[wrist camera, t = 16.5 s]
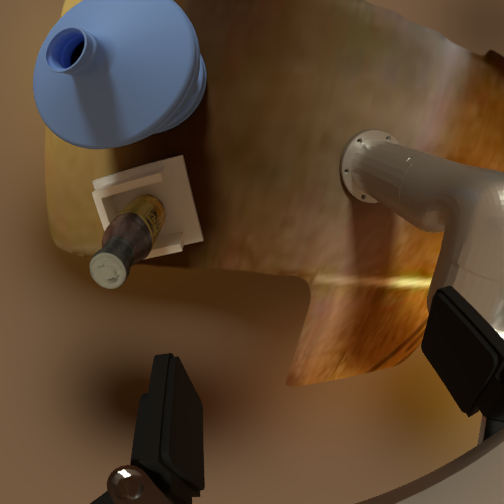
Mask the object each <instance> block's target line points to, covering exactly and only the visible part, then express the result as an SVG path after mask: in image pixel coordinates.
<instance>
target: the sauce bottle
mask: <svg viewBox="0 0 504 504" xmlns="http://www.w3.org/2000/svg"><path fill="white" fill-rule="evenodd" d="M165 216H166V214H165V208H164V206H163V203H162V202H161V201H160V200H159V199H158V198H156V197H154V196H152V195H149V194H147V195H141V196H138V197H136V198H135V199H133V200H132V201H131V202H130V203H129V204H128V205H127V206H126V207H125V208H124V209H123V210H122V211H121V212H120V213H119V214H118V215H117V216H116V217H115V218H114V219H113V220H112V222H111V223H110V224H109V225H108V227H107V228H106V230H105V232H104V235H103V239H102V249H100V250H99V251H98V252H97V253H96V254H95V255H94V256H93V258H92V260H91V262H90V272H91V276H92V277H93V279H94V280H95V281H96V282H97V283H98V284H99V285H100V286H102V287H105V288H109V289H114V288H117V287H119V286H121V285H122V284H123V283H124V282H125V280H126V279H127V277H128V275H129V271H130V267H131V266H132V265H134V264H136V263H138V262H139V261H141V260H143V259H145V258H146V257H147V256H148V255H149V254H150V252H151V250H152V248H153V245H154V243H155V241H156V239H157V237H158V235H159V233H160V231H161V229H162V226H163V224H164V222H165Z"/></svg>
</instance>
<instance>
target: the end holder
mask: <svg viewBox="0 0 504 504" xmlns="http://www.w3.org/2000/svg"><path fill="white" fill-rule="evenodd" d="M92 182H93V185H94V188H95V191H93V192H92V195H93V198H94V201H95V204H96V207H97V210H98V213H99V216H100V219H101V222H102V225H103V228H104V231H105V230H106V228H107V227H108V225H109V224H110V223H111V222H112V220H113V219H114V218H115V217H116V216H117V215H118V214H119V213H120V212H121V211H122V210H123V209H124V208H125V207H126V206H127V205H128V204H129V203H130V202H131V201H132V200H133V199H135V198H136V197H138V196H141V195H147V194H149V195H152V196H154V197H156V198H158V199H159V200H160V201H161V202H162V203H163V206H164V208H165V214H166V216H165V222H164V224H163V226H162V229H161V231H160V233H159V235H158V237H157V239H156V241H155V243H154V245H153V248H152V250H151V252H150V254H149V255H148V256H147V257H146V258H145V259H148V258H153V257H157V256H162V255H167V254H171V253H176V252H181V251H182V250H183V246H184V245H187V244H191V243H196V242H201V241H203V239H204V238H203V234H202V230H201V226H200V222H199V218H198V214H197V210H196V206H195V202H194V198H193V194H192V190H191V186H190V182H189V178H188V174H187V169H186V165H185V161H184V156H183V154H182V155H178V156H174V157H170V158H167V159H163V160H159V161H155V162H152V163H148V164H144V165H141V166H137V167H134V168H130V169H127V170H124V171H121V172H117V173H114V174H111V175H108V176H105V177H102V178H99V179H96V180H94V181H92ZM143 260H144V259H143Z"/></svg>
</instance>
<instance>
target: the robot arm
mask: <svg viewBox="0 0 504 504" xmlns="http://www.w3.org/2000/svg"><path fill="white" fill-rule="evenodd" d="M386 137H387V139H386ZM357 140H358V142H357ZM345 169H346V171H345ZM344 171H345V172H344ZM340 173H341V177H342V181H343V183H344V185H345V187H346V188H347V190H348V191H349V192H350V193H351V194H352V195H353V196H354V197H356V198H357V199H359V200H360V201H363V202H366V203H379V202H380V203H381V204H383V205H384V206H386V207H387V208H389V209H390V210H392V211H393V212H395V213H396V214H398V215H399V216H400V217H402V218H403V219H405V220H406V221H408V222H409V223H411V224H412V225H414V226H415V227H416V228H418V229H420V230H422V231H425V232H430V233H438V232H444V236H443V240H442V244H441V250H440V253H439V257H438V260H437V264H436V267H435V271H434V274H433V277H432V281H431V284H430V287H429V291H428V296H427V308H428V312H429V317H428V321H427V325H426V329H425V333H424V336H423V340H422V344H421V347H422V351H423V353H424V355H425V356H426V358H427V359H428V361H429V362H430V363H431V365H432V366H433V368H434V369H435V371H436V372H437V373H438V375H439V377H440V378H441V380H442V381H443V383H444V384H445V386H446V387H447V389H448V390H449V392H450V394H451V395H452V397H453V398H454V400H455V401H456V403H457V405H458V406H459V408H460V409H461V411H462V412H464V413H466V414H467V415H468V417H470V416H472V415H474V414H475V413H477V412H478V411H479V410H480V411H481V413H482V420H481V427H480V433H479V438H478V444H477V446H476V447H475V448H473V449H471V450H470V451H468V452H466V453H465V454H463V455H462V456H460V457H458V458H457V459H455V460H453V461H451V462H449V463H448V464H446V465H444V466H442V467H440V468H438V469H437V470H435V471H433V472H431V473H429V474H427V475H425V476H423V477H421V478H419V479H417V480H414V481H412V482H410V483H408V484H406V485H403V486H401V487H399V488H396V489H394V490H391V491H389V492H387V493H384V494H382V495H379V496H376V497H373V498H371V499H368V500H365V501H362V502H359V503H356V504H504V172H501V171H497V170H492V169H486V168H480V167H474V166H469V165H465V164H460V163H457V162H453V161H450V160H447V159H444V158H441V157H438V156H434V155H431V154H428V153H425V152H422V151H419V150H415V149H412V148H408V147H405V146H401V145H400V143H399V142H398V141H397V140H396V139H395V138H394V137H393V136H392V135H390V134H388V133H386V132H383V131H380V130H367V131H364V132H361V133H359V134H357V135H356V136H355V137H353V138H352V139H351V140H350V141H349V143H348V144H347V145H346V147H345V149H344V151H343V154H342V157H341V163H340ZM361 196H362V197H361ZM204 487H205V482H204V453H203V406H202V402H201V400H200V398H199V396H198V394H197V392H196V391H195V388H194V386H193V384H192V382H191V381H190V379H189V377H188V375H187V373H186V371H185V369H184V367H183V365H182V363H181V361H180V359H179V357H174V356H173V354H171V353H169V354H161V355H155V357H154V361H153V366H152V372H151V378H150V384H149V390H148V393H143V394H142V395H141V398H140V401H139V407H138V413H137V420H136V426H135V433H134V441H133V448H132V455H131V464H130V465H124V466H120V467H118V468H116V469H115V470H114V471H113V472H111V474H110V476H109V477H108V480H107V491H106V492H105V493H104V494H103V495H102V496H100V497H98V498H97V499H96V500H94V501H93V502H92V503H90V504H192V497H200V490H204Z"/></svg>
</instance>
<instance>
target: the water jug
mask: <svg viewBox="0 0 504 504" xmlns="http://www.w3.org/2000/svg"><path fill="white" fill-rule="evenodd" d="M206 80H207V75H206V68H205V64H204V61H203V58H202V56H201V54H200V50H199V43H198V39H197V36H196V33H195V30H194V28H193V25H192V23H191V22H190V20H189V19H188V17H187V16H186V14H185V13H184V11H183V10H182V9H181V8H180V7H179V6H178V5H177V4H176V3H175V2H174V1H173V0H83V1H81V2H80V3H78V4H77V5H75V6H74V7H73V8H71V9H70V10H69V11H68V12H67V13H66V14H65V15H64V16H63V17H62V18H61V19H60V20H59V21H58V22H57V23H56V24H55V26H54V27H53V28H52V30H51V31H50V32H49V34H48V36H47V37H46V39H45V41H44V43H43V45H42V47H41V49H40V52H39V54H38V57H37V60H36V65H35V69H34V77H33V90H34V98H35V102H36V106H37V108H38V111H39V113H40V115H41V117H42V119H43V121H44V122H45V124H46V125H47V126H48V127H49V129H50V130H51V131H52V132H53V133H54V134H56V135H57V136H58V137H59V138H61V139H62V140H64V141H66V142H68V143H70V144H72V145H75V146H78V147H82V148H88V149H107V148H115V147H121V146H125V145H129V144H132V143H134V142H137V141H140V140H142V139H144V138H146V137H148V136H150V135H152V134H155V133H160V132H164V131H167V130H169V129H172V128H174V127H176V126H178V125H179V124H181V123H182V122H184V121H185V120H186V119H187V118H188V117H189V116H190V115H191V114H192V113H193V112H194V111H195V109H196V108H197V107H198V105H199V103H200V102H201V100H202V97H203V95H204V92H205V88H206Z"/></svg>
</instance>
